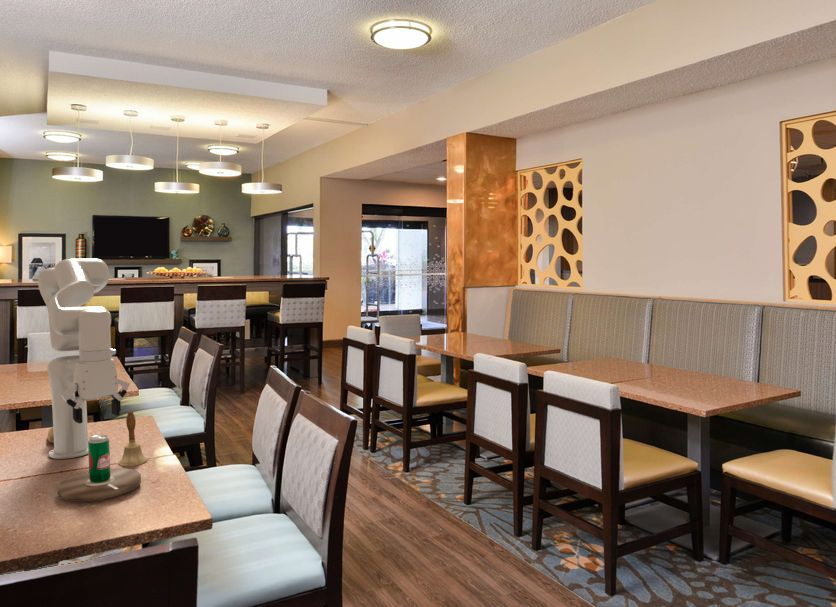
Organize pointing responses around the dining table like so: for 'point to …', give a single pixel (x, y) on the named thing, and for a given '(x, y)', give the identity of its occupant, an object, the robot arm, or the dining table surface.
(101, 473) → the soda can
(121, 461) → the hand bell
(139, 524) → the dining table surface
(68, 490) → the turntable
